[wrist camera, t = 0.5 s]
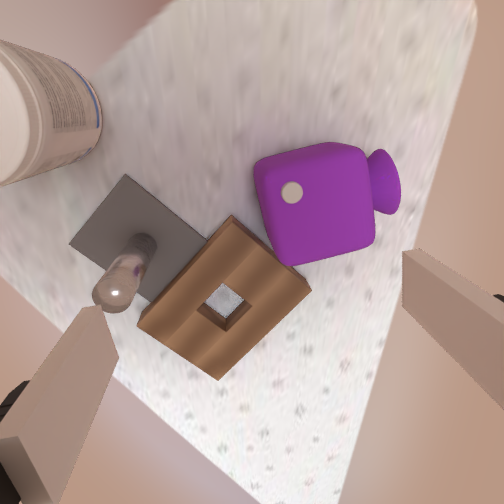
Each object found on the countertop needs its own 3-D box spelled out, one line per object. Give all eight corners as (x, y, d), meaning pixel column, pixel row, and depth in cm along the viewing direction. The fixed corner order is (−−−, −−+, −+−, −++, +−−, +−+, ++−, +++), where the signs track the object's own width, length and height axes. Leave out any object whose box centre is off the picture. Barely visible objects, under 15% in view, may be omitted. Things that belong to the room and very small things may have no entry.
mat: (70, 242, 39) (68, 244, 38) (125, 174, 37) (124, 174, 36) (159, 305, 42) (158, 307, 42) (214, 246, 40) (214, 247, 40)
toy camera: (386, 204, 40) (436, 229, 31) (276, 254, 41) (293, 293, 32) (356, 111, 36) (404, 108, 27) (236, 168, 37) (242, 184, 28)
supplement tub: (10, 38, 32) (-149, -24, 18) (116, 83, 34) (46, 59, 20) (-8, 143, 35) (-157, 159, 21) (91, 179, 37) (15, 215, 23)
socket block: (141, 312, 42) (136, 326, 39) (231, 214, 39) (232, 222, 36) (218, 365, 46) (217, 380, 43) (305, 279, 43) (311, 290, 40)
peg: (123, 246, 39) (84, 298, 28) (140, 227, 38) (107, 271, 27) (145, 263, 40) (116, 320, 29) (162, 244, 39) (139, 294, 28)
